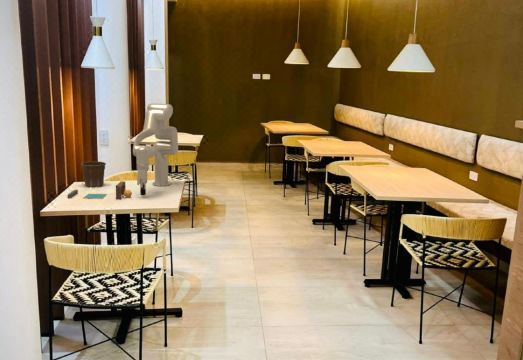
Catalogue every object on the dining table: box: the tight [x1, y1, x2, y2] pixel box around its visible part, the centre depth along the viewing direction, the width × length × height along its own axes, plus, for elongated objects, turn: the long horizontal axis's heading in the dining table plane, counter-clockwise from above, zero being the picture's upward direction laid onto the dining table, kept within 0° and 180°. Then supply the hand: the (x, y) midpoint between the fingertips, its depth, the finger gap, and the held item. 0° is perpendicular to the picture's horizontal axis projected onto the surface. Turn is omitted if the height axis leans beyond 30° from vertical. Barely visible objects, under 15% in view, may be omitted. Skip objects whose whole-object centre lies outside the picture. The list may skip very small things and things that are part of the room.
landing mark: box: [83, 193, 108, 200], centre depth 313 cm, size 12×12×1 cm
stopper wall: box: [67, 189, 79, 199], centre depth 311 cm, size 14×2×2 cm, turn 3°
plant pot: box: [81, 161, 107, 189], centre depth 341 cm, size 16×16×16 cm
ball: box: [123, 189, 133, 198], centre depth 312 cm, size 5×5×5 cm
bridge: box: [115, 180, 127, 200], centre depth 313 cm, size 3×14×9 cm, turn 3°
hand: (143, 195), depth 314 cm, fingers closed
